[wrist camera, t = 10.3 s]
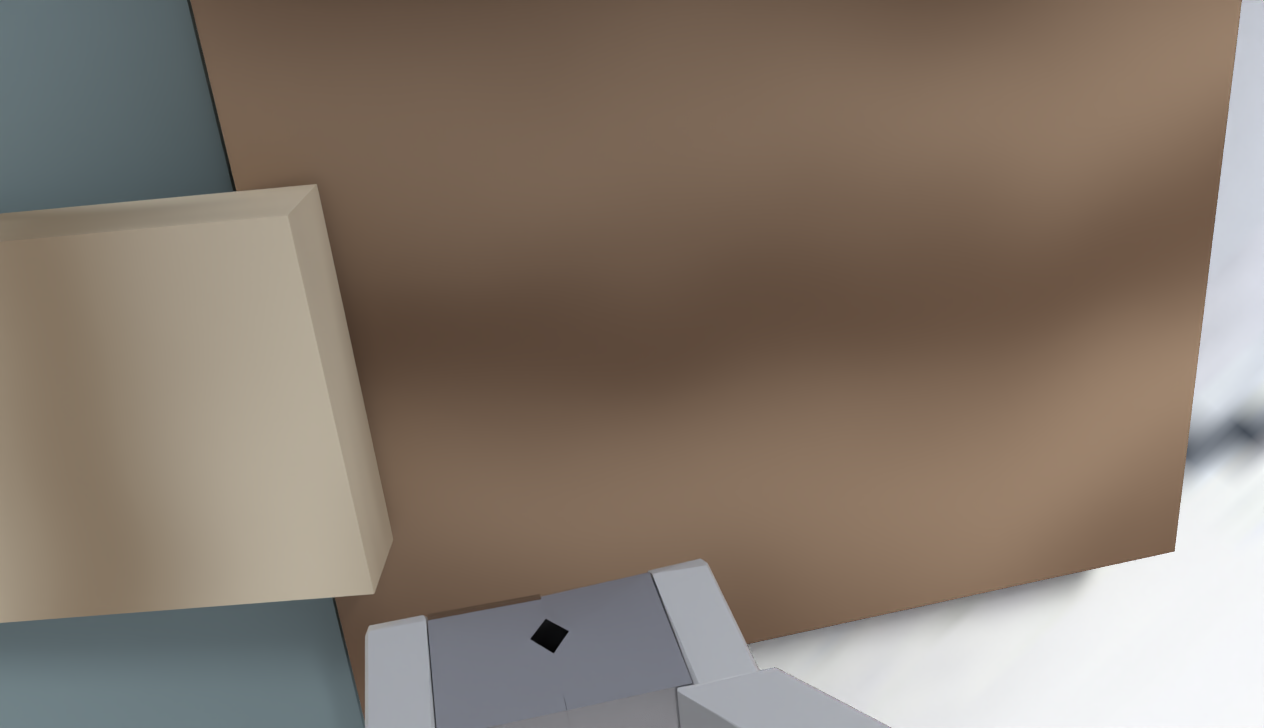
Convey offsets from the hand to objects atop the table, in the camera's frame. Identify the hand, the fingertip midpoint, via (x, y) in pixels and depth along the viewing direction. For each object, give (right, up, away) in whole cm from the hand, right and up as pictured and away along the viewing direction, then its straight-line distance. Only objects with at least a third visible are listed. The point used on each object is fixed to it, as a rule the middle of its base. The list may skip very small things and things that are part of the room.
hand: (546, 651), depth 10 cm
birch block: (-8, +2, +8) cm, 11 cm away
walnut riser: (+3, +5, +10) cm, 12 cm away
